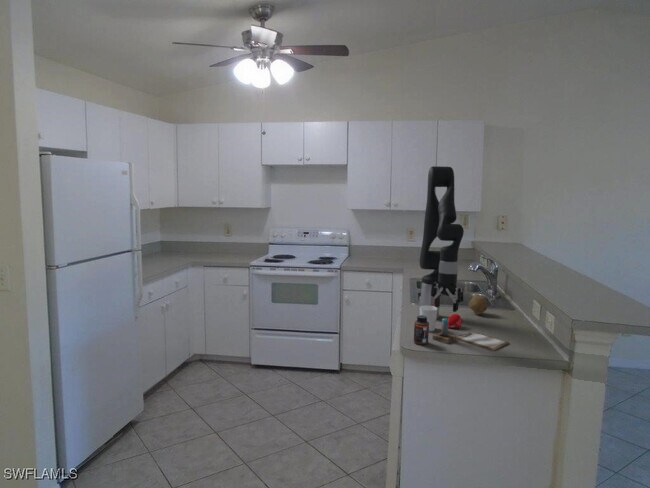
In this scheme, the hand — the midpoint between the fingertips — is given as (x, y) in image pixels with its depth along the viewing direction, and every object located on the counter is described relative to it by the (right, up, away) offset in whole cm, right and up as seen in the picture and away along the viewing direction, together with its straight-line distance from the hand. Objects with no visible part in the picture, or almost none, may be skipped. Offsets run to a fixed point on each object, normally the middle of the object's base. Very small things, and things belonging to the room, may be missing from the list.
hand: (446, 309), depth 185 cm
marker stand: (0, -13, +2) cm, 13 cm away
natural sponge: (+27, -9, +40) cm, 49 cm away
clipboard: (+15, -14, +1) cm, 21 cm away
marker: (0, -13, +2) cm, 13 cm away
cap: (+9, -11, +19) cm, 24 cm away
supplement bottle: (-11, -14, -2) cm, 18 cm away
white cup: (-4, -12, +16) cm, 20 cm away
